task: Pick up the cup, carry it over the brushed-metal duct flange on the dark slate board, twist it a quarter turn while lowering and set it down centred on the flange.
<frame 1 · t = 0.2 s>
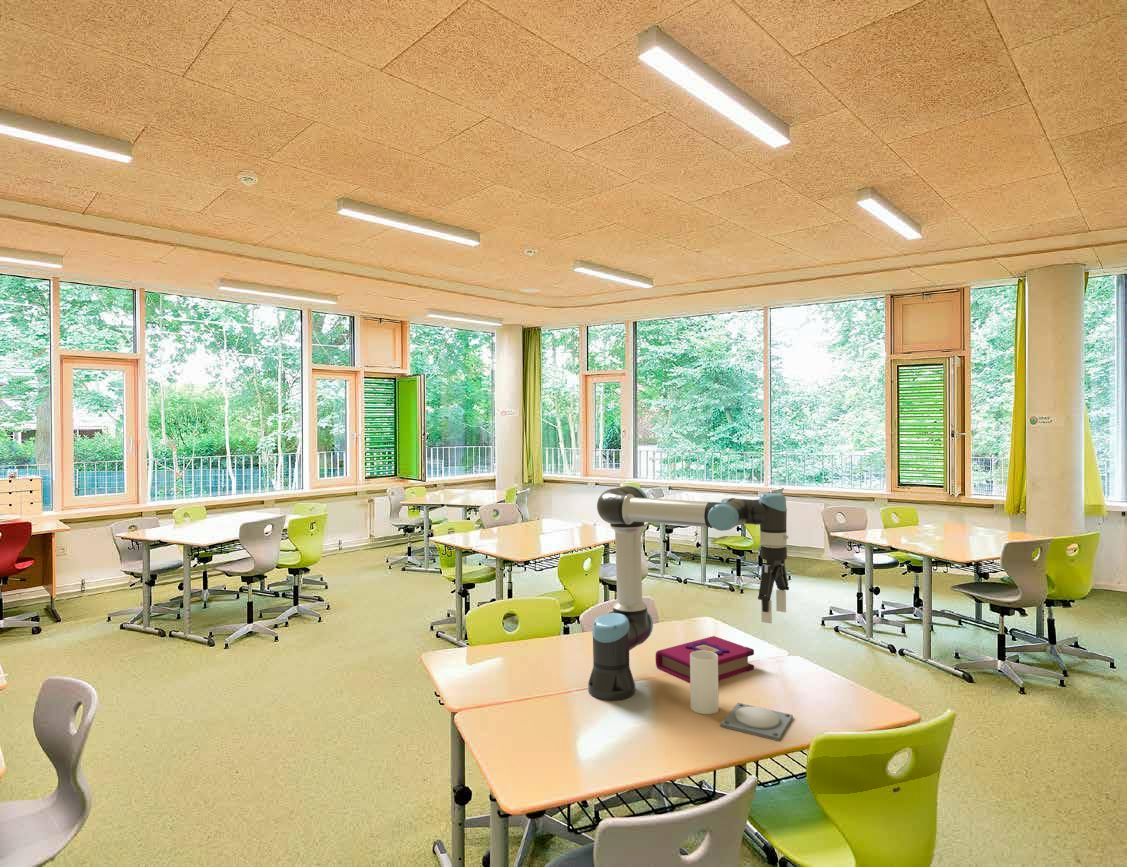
hand: (774, 616, 187), 28 cm above the table, fingers open, 13 cm apart
flange board: (757, 722, 179), on the table
cup: (704, 708, 188), on the table
book: (705, 670, 220), on the table
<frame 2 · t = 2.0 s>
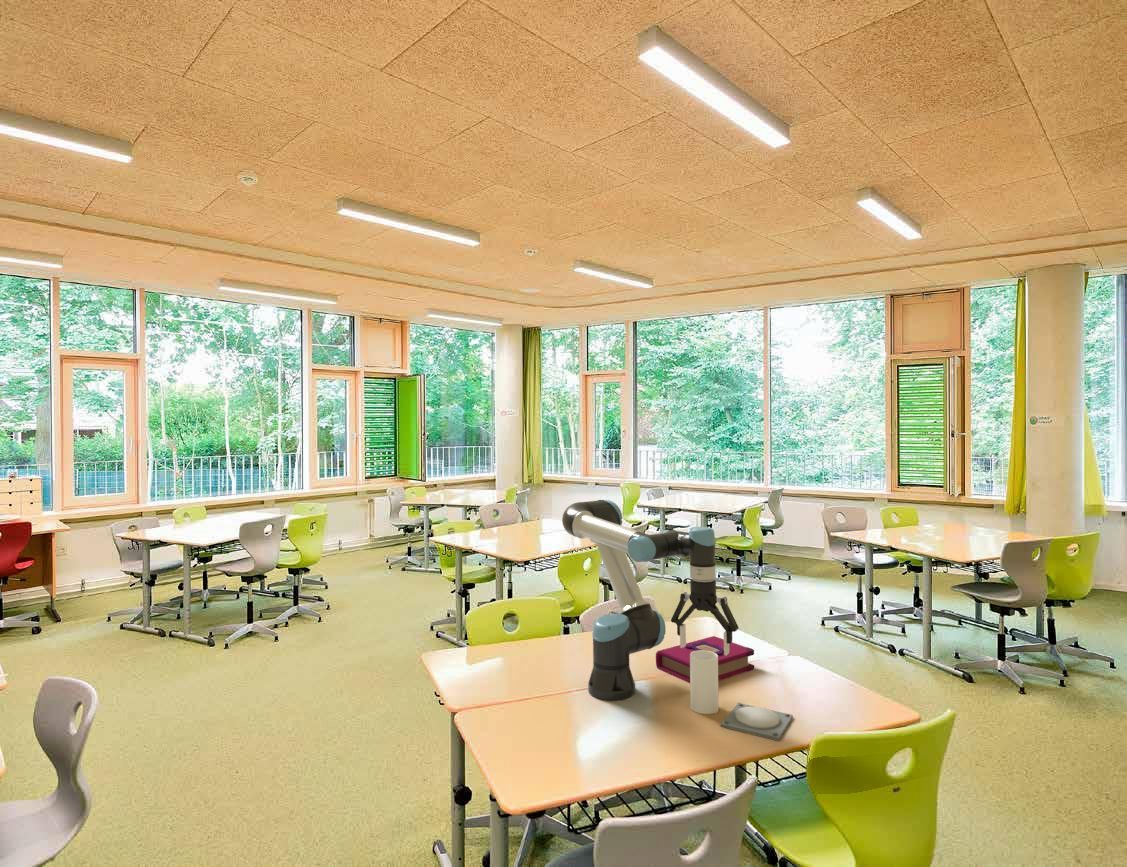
hand: (704, 650, 188), 17 cm above the table, fingers open, 13 cm apart
nothing on the table moved.
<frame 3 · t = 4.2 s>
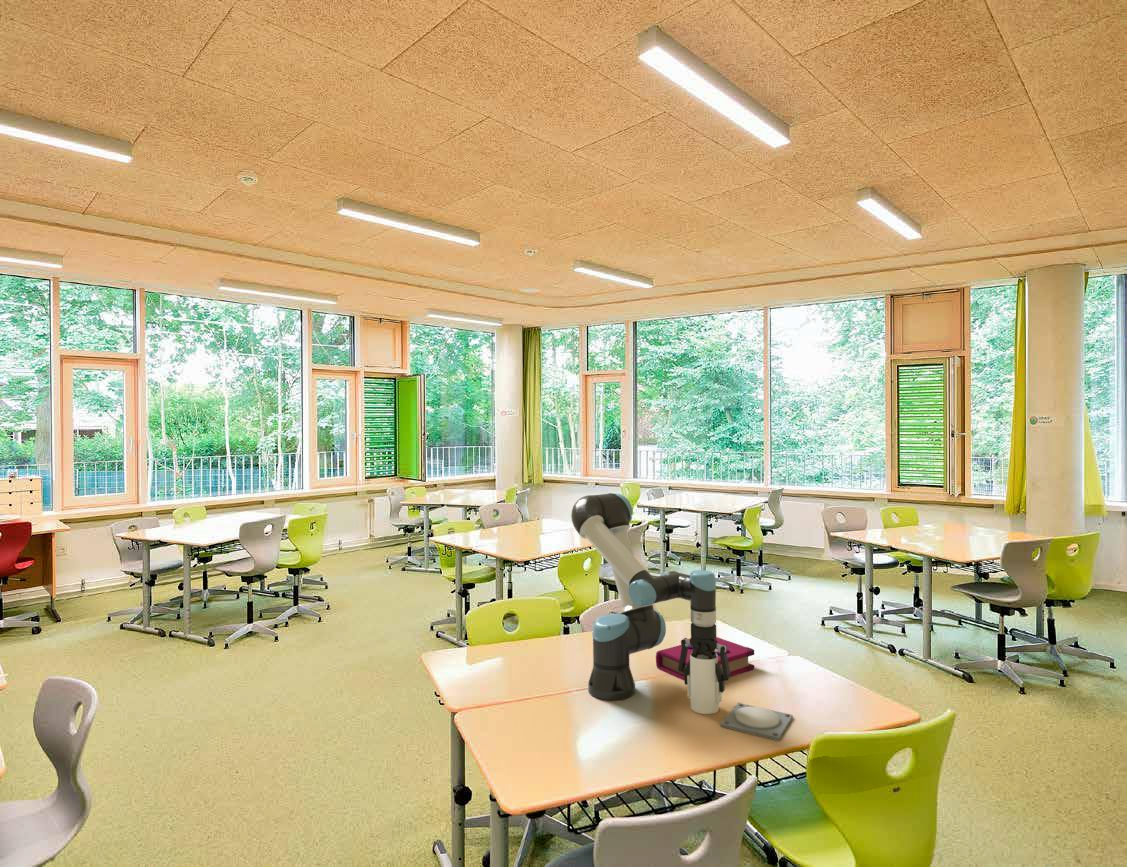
hand: (704, 698, 188), 3 cm above the table, fingers closed on cup, 8 cm apart
cup: (704, 708, 188), on the table, touching gripper
everything else where it was.
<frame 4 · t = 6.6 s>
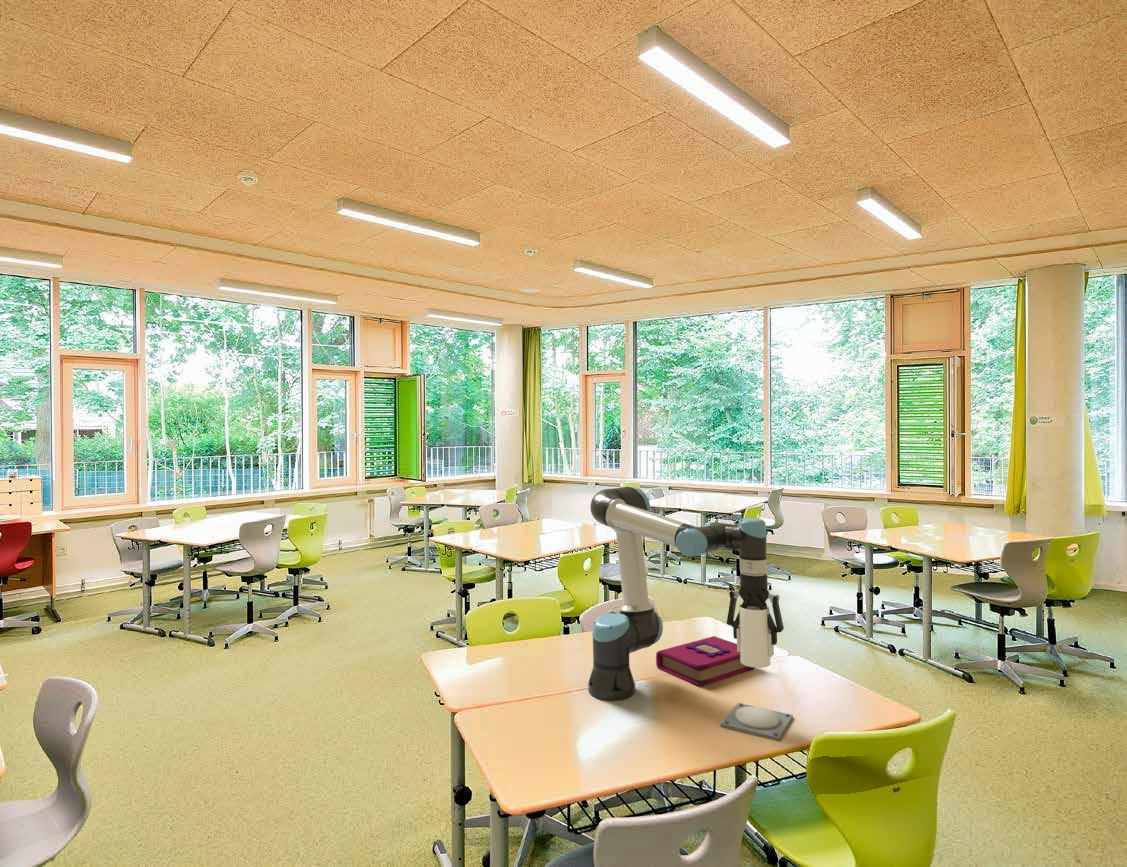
hand: (755, 652, 179), 20 cm above the table, fingers closed on cup, 8 cm apart
cup: (755, 663, 179), point 17 cm above the table, touching gripper
everything else where it was.
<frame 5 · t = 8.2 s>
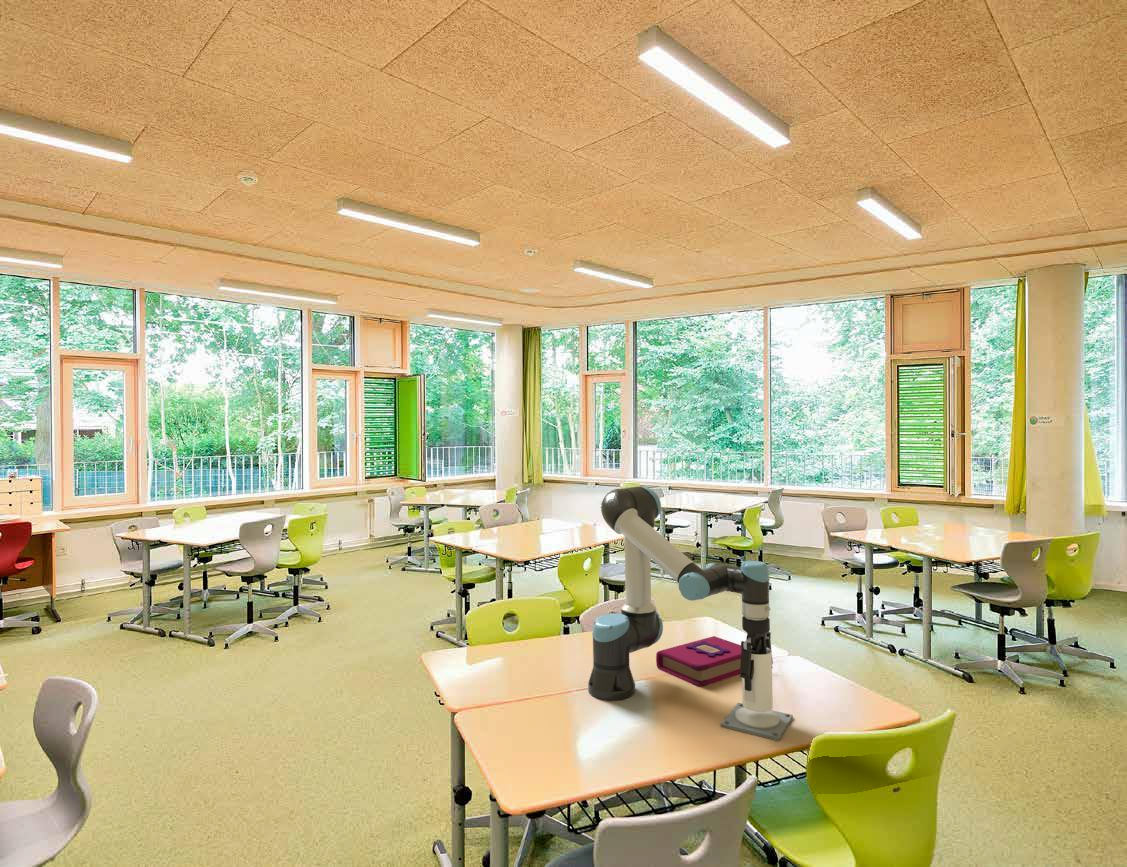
hand: (757, 696, 179), 7 cm above the table, fingers closed on cup, 8 cm apart
cup: (757, 706, 179), point 4 cm above the table, touching gripper
everything else where it was.
when the fingers open (6 cm above the table, at t = 9.3 s): cup drops 1 cm, resting on flange board.
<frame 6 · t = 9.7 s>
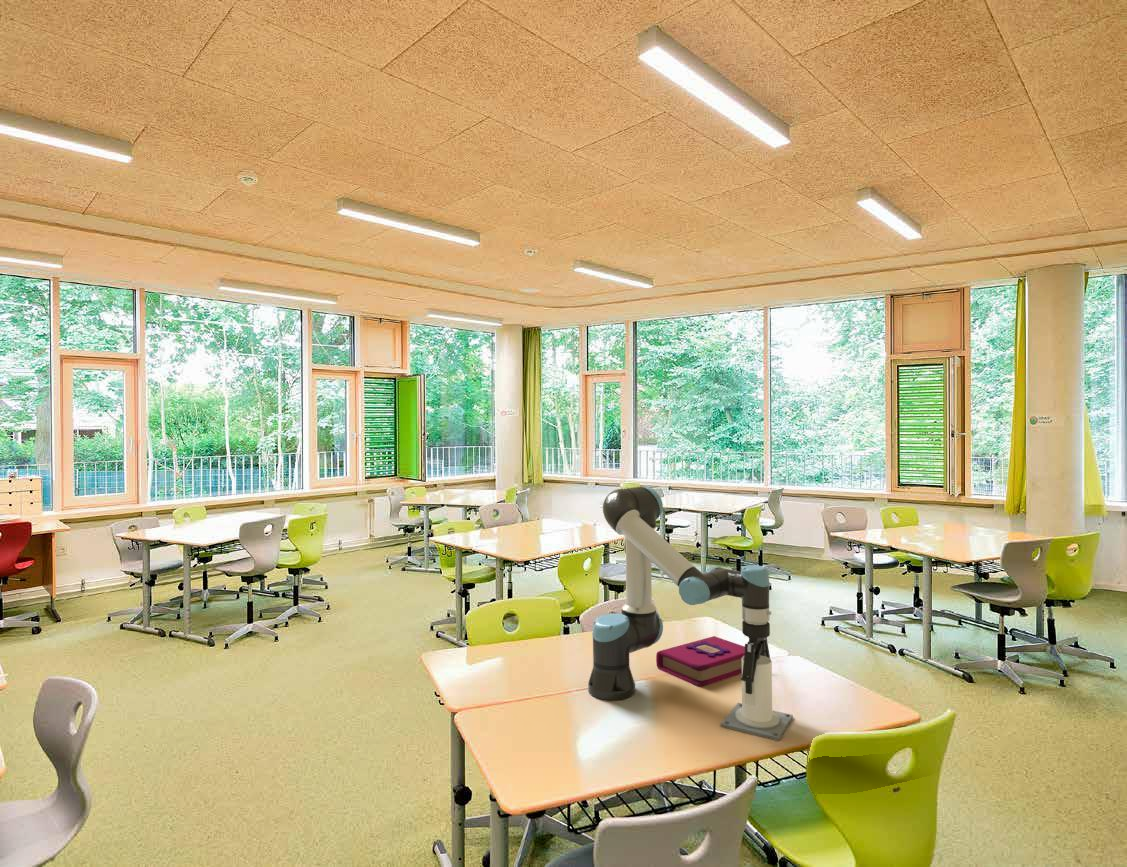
hand: (756, 695, 179), 7 cm above the table, fingers open, 13 cm apart
cup: (757, 716, 179), point 2 cm above the table, touching flange board
everything else where it was.
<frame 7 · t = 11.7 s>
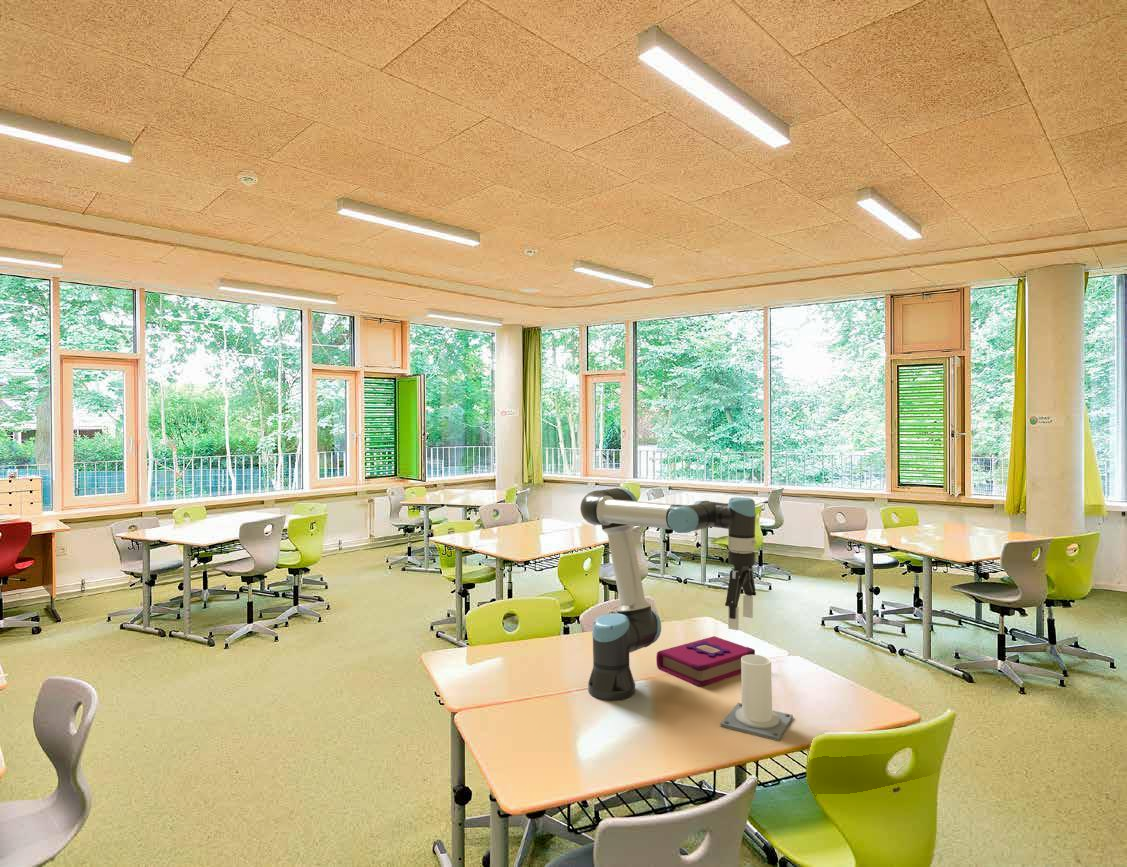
hand: (740, 623, 184), 27 cm above the table, fingers open, 13 cm apart
nothing on the table moved.
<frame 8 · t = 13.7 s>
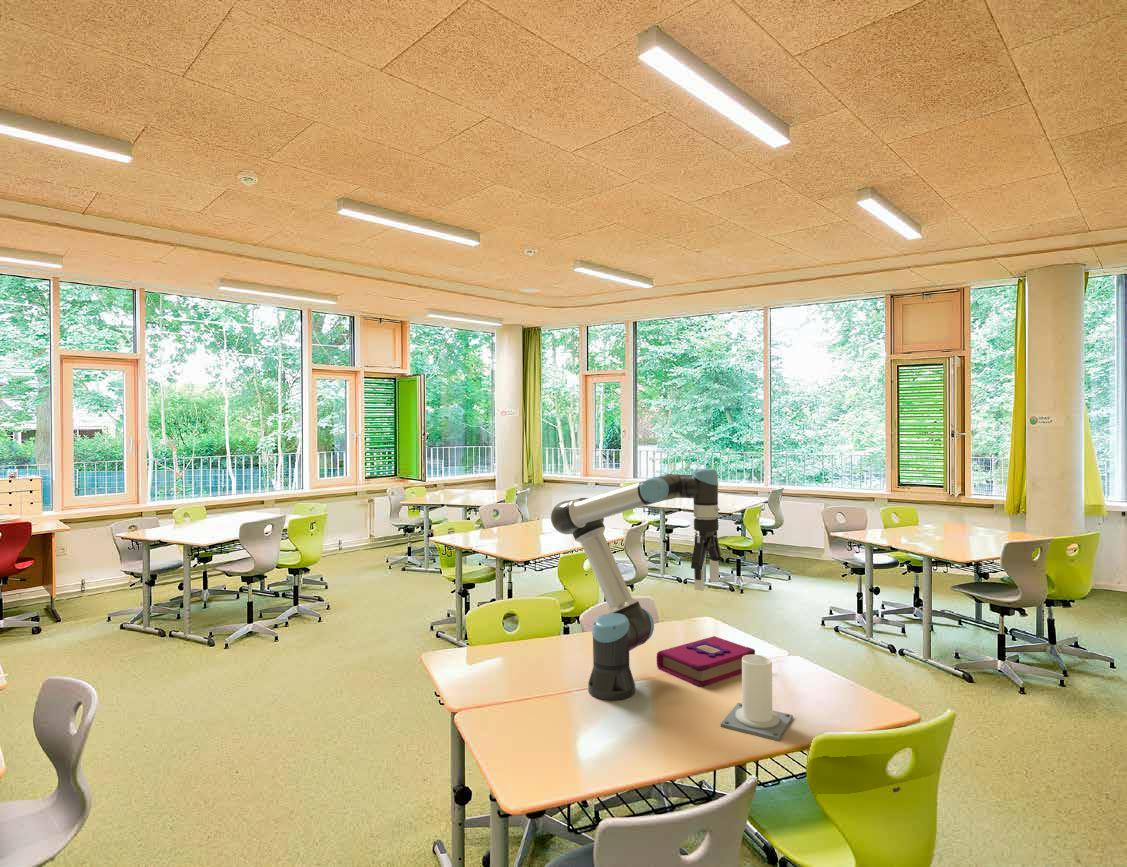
hand: (706, 585, 197), 35 cm above the table, fingers open, 13 cm apart
nothing on the table moved.
at the end: cup inside the target area on the flange board (0.0 cm from its centre), point 1.6 cm above the flange board's base; cup tilted 0°; the gripper is holding nothing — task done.
